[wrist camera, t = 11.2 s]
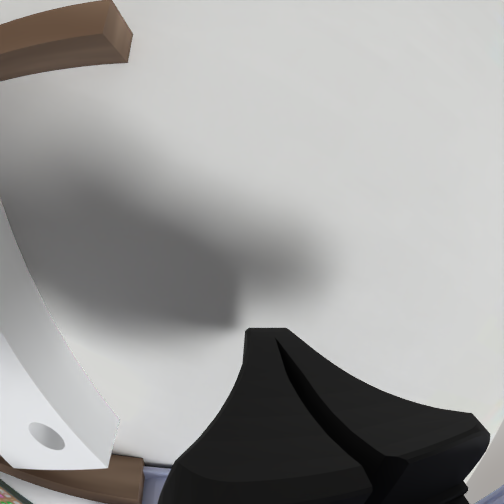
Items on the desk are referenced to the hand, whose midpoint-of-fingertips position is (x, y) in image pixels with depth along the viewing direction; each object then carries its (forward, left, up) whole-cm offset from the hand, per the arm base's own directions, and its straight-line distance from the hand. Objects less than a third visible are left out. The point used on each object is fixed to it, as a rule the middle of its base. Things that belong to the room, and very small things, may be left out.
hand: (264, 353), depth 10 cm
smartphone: (-19, +25, -3) cm, 32 cm away
